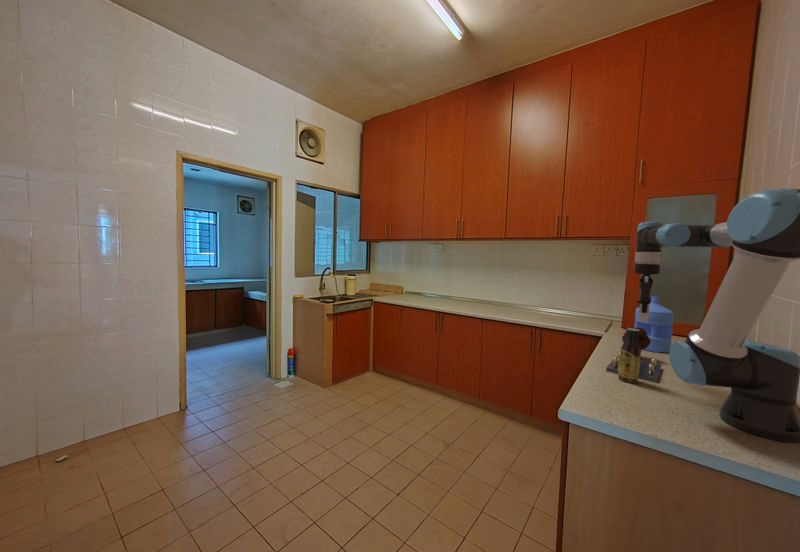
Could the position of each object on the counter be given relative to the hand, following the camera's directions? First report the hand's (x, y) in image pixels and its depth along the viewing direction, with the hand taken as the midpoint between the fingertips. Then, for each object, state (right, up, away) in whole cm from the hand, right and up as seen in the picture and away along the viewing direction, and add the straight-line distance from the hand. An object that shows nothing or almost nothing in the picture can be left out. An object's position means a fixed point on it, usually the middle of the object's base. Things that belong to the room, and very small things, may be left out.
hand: (643, 319), depth 117 cm
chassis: (+5, -23, +12) cm, 26 cm away
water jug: (+41, -22, +46) cm, 65 cm away
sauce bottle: (-6, -23, -1) cm, 24 cm away
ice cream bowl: (+18, -23, +28) cm, 40 cm away
